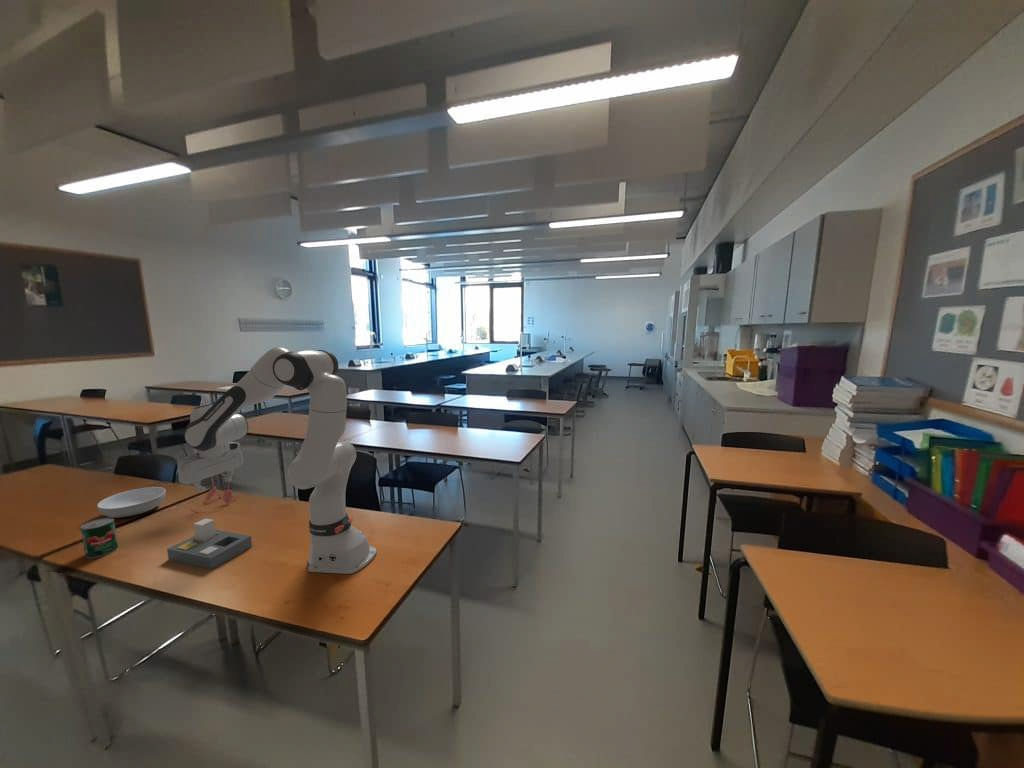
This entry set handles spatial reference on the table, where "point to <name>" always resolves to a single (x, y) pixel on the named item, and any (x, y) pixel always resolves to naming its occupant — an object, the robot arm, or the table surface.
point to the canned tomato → (99, 537)
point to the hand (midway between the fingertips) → (215, 486)
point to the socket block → (210, 549)
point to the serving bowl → (132, 502)
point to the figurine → (226, 497)
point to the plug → (204, 530)
